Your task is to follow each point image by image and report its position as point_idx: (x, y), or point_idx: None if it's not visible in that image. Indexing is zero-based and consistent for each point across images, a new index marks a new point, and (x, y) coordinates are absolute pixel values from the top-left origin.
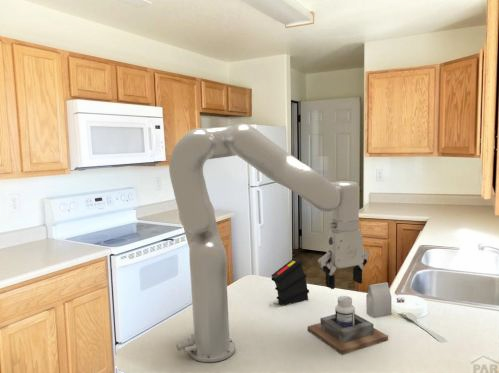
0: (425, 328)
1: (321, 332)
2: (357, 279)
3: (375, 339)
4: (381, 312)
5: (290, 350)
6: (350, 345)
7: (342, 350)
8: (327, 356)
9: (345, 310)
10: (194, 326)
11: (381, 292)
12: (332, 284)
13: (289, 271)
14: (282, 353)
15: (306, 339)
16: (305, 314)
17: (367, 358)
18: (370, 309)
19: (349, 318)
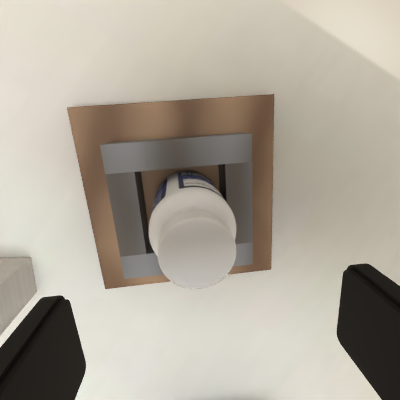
0: None
1: (258, 221)
2: (62, 345)
3: (127, 105)
4: None
5: (371, 184)
6: (230, 110)
7: (272, 94)
8: (310, 109)
9: (216, 199)
10: None
11: None
12: (397, 289)
13: None
14: (397, 178)
15: (300, 219)
16: (216, 343)
17: (213, 37)
18: (19, 287)
19: (197, 181)
